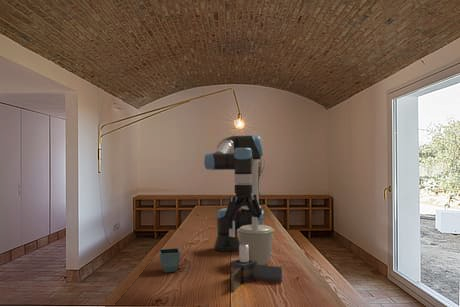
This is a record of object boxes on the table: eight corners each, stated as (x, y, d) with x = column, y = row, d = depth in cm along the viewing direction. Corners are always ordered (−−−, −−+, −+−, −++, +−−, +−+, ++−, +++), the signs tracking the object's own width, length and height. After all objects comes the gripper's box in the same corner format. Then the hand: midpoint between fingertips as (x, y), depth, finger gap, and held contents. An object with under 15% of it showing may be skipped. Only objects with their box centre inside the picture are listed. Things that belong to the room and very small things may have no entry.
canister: (277, 259, 175) (276, 217, 176) (271, 270, 158) (271, 223, 159) (242, 257, 180) (242, 216, 181) (233, 267, 163) (232, 222, 163)
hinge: (251, 272, 155) (251, 256, 155) (283, 281, 142) (282, 264, 142) (212, 283, 140) (212, 266, 140) (243, 295, 127) (243, 276, 127)
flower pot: (160, 274, 153) (160, 253, 153) (159, 268, 161) (159, 249, 161) (180, 272, 155) (180, 252, 155) (178, 267, 163) (178, 248, 164)
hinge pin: (244, 276, 149) (244, 243, 150) (251, 278, 147) (250, 244, 147) (237, 278, 147) (237, 244, 147) (244, 280, 144) (243, 246, 144)
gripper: (257, 182, 159) (257, 228, 159) (215, 185, 142) (215, 237, 142) (269, 183, 154) (269, 231, 153) (227, 186, 137) (227, 240, 136)
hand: (243, 234), depth 148 cm, fingers open, 13 cm apart
